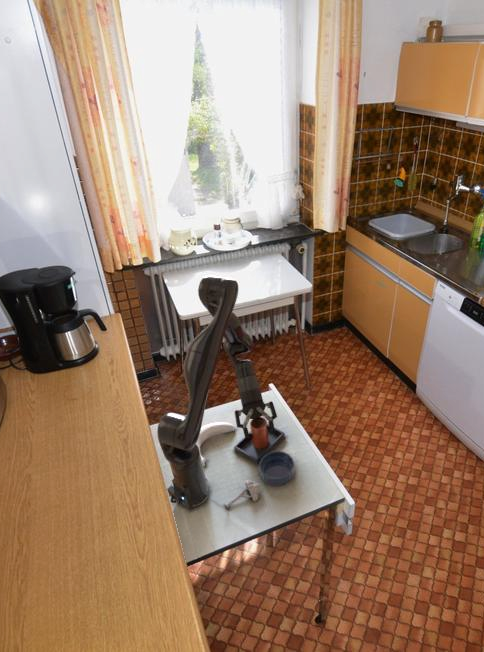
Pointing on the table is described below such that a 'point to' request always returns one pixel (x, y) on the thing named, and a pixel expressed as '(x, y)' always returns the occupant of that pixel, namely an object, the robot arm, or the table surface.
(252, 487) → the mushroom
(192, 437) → the robot arm
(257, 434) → the cup
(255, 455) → the tray
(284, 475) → the bowl
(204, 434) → the banana
